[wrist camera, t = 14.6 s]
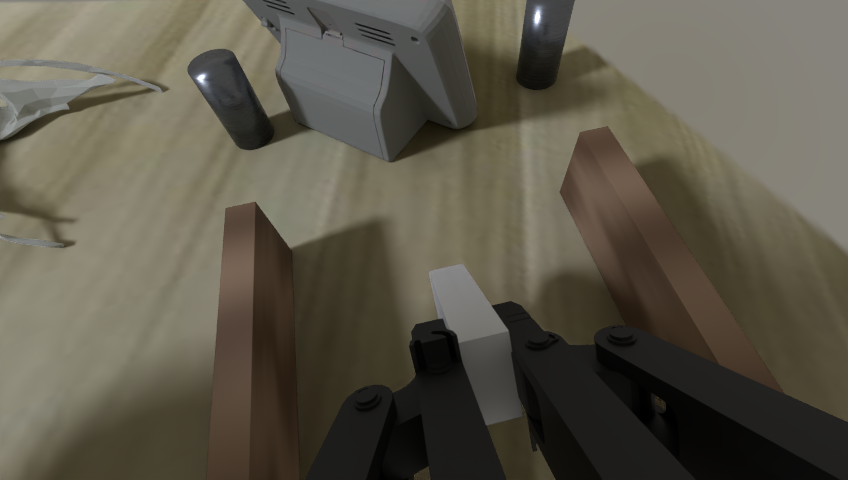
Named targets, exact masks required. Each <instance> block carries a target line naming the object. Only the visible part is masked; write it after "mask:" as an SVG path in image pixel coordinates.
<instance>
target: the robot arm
mask: <svg viewBox="0 0 848 480" xmlns="http://www.w3.org/2000/svg"><path fill="white" fill-rule="evenodd" d="M429 276H430V281H431V285H432V290H433V295H434V299H435V304H436V309H437V313H438V318H439V319H437V320H433V321H429V322H424V323H420V324H416V325H415V327H414V328H413V330H412V332H411V334H412V340H411V341H410V345H409V348H410V352H411V356H412V360H413V365H414V369H415V373H416V376H415V378H414V379H413V380H412V382H411V383H410V384H408V385H407V386H406V387H404V388H402V389H401V390H399V391H397V392H394V393H393V392H392V391H391V390H390V388H388V387H386V386H383V385H372V386H366V387H363V388H361V389H359V390H357V391H355V392H354V393H353V394H351V395H350V396H348V398H347V399H346V400H345V402H344V403H343V405H342V407H341V409H340V411H339V413H338V415H337V417H336V419H335V421H334V423H333V425H332V427H331V429H330V431H329V433H328V435H327V437H326V439H325V441H324V443H323V445H322V447H321V449H320V451H319V453H318V455H317V457H316V459H315V461H314V463H313V465H312V467H311V469H310V471H309V473H308V475H307V477H306V479H305V480H414V474H415V473H417V472H419V471H420V470H422V469H424V468H426V467H428V466H429V470H430V477H431V480H506V477H505V474H504V472H503V469H502V466H501V464H500V461H499V458H498V456H497V453H496V450H495V448H494V445H493V442H492V440H491V437H490V434H489V432H488V429H487V425H491V424H495V423H499V422H503V421H507V420H511V419H515V418H519V417H523V413H522V407H521V403H522V404H523V406H524V408H525V410H526V413H527V419H528V425H529V432H530V438H531V444H532V449H533V452H534V451H537V447H536V443H537V444H538V446H539V448H540V450H541V452H542V454H543V456H544V458H545V460H546V462H547V464H548V466H549V467H550V469H551V471H552V473H553V475H554V477H555V479H556V480H848V422H846V421H844V420H841V419H839V418H837V417H835V416H832V415H830V414H828V413H826V412H824V411H821V410H819V409H817V408H815V407H812V406H810V405H808V404H806V403H803V402H801V401H799V400H797V399H795V398H792V397H790V396H788V395H786V394H783V393H781V392H779V391H777V390H774V389H772V388H770V387H768V386H765V385H763V384H761V383H759V382H757V381H754V380H752V379H750V378H748V377H745V376H743V375H741V374H739V373H736V372H734V371H732V370H730V369H728V368H725V367H723V366H721V365H719V364H716V363H714V362H712V361H710V360H707V359H705V358H703V357H701V356H698V355H696V354H694V353H692V352H690V351H687V350H685V349H683V348H681V347H678V346H676V345H674V344H672V343H669V342H667V341H665V340H663V339H660V338H658V337H656V336H654V335H652V334H649V333H647V332H645V331H643V330H640V329H637V328H634V327H628V326H623V325H617V326H610V327H607V328H603V329H601V330H600V331H598V332H597V333H596V335H595V336H594V339H595V345H568V343H567V342H566V341H565V340H564V339H563V338H562V337H560V336H559V335H557V334H555V333H552V332H547V331H543V330H542V329H541V328H540V326H539V325H538V324H537V323H536V322H535V321H534V320H533V319H532V318H531V316H530V315H529V314H528V313H527V312H526V311H525V309H524V308H523V307H522V306H521V305H519V304H516V303H514V302H511V301H510V302H505V303H501V304H497V305H492V306H491V304H490V303H489V302H488V300H487V299H486V297H485V296H484V294H483V293H482V291H481V290H480V289H479V287H478V286H477V284H476V283H475V281H474V280H473V278H472V277H471V275H470V274H469V273H468V271H467V270H466V268H465V267H464V265H463V264H458V265H454V266H450V267H445V268H441V269H436V270H432V271H429ZM655 395H656V396H658V397H659V398H661V399H663V400H664V401H665V402H666V410H665V409H662V408H661V407H659V406H657V405H656V404H655Z"/></svg>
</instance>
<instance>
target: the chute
mask: <svg viewBox="0 0 848 480" xmlns="http://www.w3.org/2000/svg"><path fill="white" fill-rule="evenodd" d="M560 194H561V196H562V198H563V200H564V202H565V204H566V206H567V208H568V210H569V212H570V214H571V215H572V217H573V219H574V221H575V223H576V225H577V227H578V229H579V231H580V233H581V235H582V237H583V239H584V241H585V243H586V245H587V247H588V249H589V251H590V253H591V255H592V257H593V259H594V261H595V263H596V265H597V267H598V269H599V271H600V273H601V275H602V277H603V279H604V281H605V283H606V285H607V287H608V289H609V291H610V293H611V295H612V297H613V299H614V301H615V303H616V305H617V307H618V309H619V311H620V313H621V315H622V317H623V319H624V321H625V323H626V325H627V326H628V327H634V328H637V329H640V330H643V331H645V332H647V333H649V334H652V335H654V336H656V337H658V338H660V339H663V340H665V341H667V342H669V343H672V344H674V345H676V346H678V347H681V348H683V349H685V350H687V351H690V352H692V353H694V354H696V355H698V356H701V357H703V358H705V359H707V360H710V361H712V362H714V363H716V364H719V365H721V366H723V367H725V368H728V369H730V370H732V371H734V372H736V373H739V374H741V375H743V376H745V377H748V378H750V379H752V380H754V381H757V382H759V383H761V384H763V385H765V386H768V387H770V388H772V389H774V390H777V391H779V392H781V393H783V394H784V392H783V391H782V389H781V388H780V386H779V385H778V383H777V382H776V380H775V379H774V377H773V376H772V374H771V373H770V371H769V370H768V368H767V367H766V365H765V363H764V362H763V360H762V359H761V357H760V356H759V354H758V353H757V351H756V350H755V348H754V347H753V345H752V344H751V342H750V341H749V339H748V338H747V336H746V335H745V333H744V332H743V330H742V329H741V327H740V326H739V324H738V323H737V321H736V320H735V318H734V317H733V315H732V314H731V312H730V311H729V309H728V307H727V306H726V304H725V303H724V301H723V300H722V298H721V297H720V295H719V294H718V292H717V291H716V289H715V288H714V286H713V285H712V283H711V282H710V280H709V279H708V277H707V276H706V274H705V273H704V271H703V270H702V268H701V267H700V265H699V264H698V262H697V261H696V259H695V258H694V256H693V255H692V253H691V252H690V250H689V248H688V247H687V245H686V244H685V242H684V241H683V239H682V238H681V236H680V235H679V233H678V232H677V230H676V229H675V227H674V226H673V224H672V223H671V221H670V220H669V218H668V217H667V215H666V214H665V212H664V211H663V209H662V208H661V206H660V205H659V203H658V202H657V200H656V199H655V197H654V196H653V194H652V192H651V191H650V189H649V188H648V186H647V185H646V183H645V182H644V180H643V179H642V177H641V176H640V174H639V173H638V171H637V170H636V168H635V167H634V165H633V164H632V162H631V161H630V159H629V158H628V156H627V155H626V153H625V152H624V150H623V149H622V147H621V146H620V144H619V143H618V141H617V140H616V138H615V137H614V135H613V133H612V132H611V130H610V129H609V127H608V126H607V127H602V128H597V129H593V130H588V131H583V132H580V134H579V137H578V140H577V143H576V146H575V149H574V152H573V155H572V157H571V160H570V163H569V166H568V169H567V172H566V175H565V178H564V181H563V184H562V187H561V190H560ZM206 480H300V468H299V440H298V412H297V385H296V357H295V329H294V301H293V273H292V251H291V249H290V248H289V247H288V245H287V244H286V243H285V241H284V240H283V238H282V237H281V236H280V234H279V233H278V232H277V230H276V229H275V228H274V226H273V225H272V224H271V222H270V221H269V220H268V218H267V217H266V215H265V214H264V213H263V211H262V210H261V209H260V207H259V206H258V205H257V203H256V202H252V203H247V204H243V205H238V206H233V207H229V208H226V210H225V224H224V238H223V252H222V265H221V279H220V293H219V307H218V320H217V334H216V348H215V362H214V375H213V389H212V403H211V417H210V430H209V444H208V458H207V472H206Z"/></svg>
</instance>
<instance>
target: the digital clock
mask: <svg viewBox="0 0 848 480" xmlns="http://www.w3.org/2000/svg"><path fill="white" fill-rule="evenodd" d="M243 1H244V2H245V3H246V4H247V6H248V7H249V8H250V9H251V10H252V11H253V13H254V14H255V15H256V16H257V17H258V18H259V19H260V21H261V25H262V26H264V27H266V28H267V29H268V30H269V31H270V32H271V33H272V34H273V36H274V37H275V38H276V39H277V40H278V41H279V43H280V44H281V52H280V58H279V60H278V63H277V66H276V69H275V71H276V77H277V80H278V83H279V85H280V88H281V90H282V92H283V94H284V96H285V99H286V101H287V103H288V105H289V107H290V109H291V111H292V114H293V116H294V118H295V120H296V122H298V123H300V124H303V125H305V126H307V127H310V128H312V129H314V130H317V131H319V132H321V133H323V134H326V135H328V136H330V137H333V138H335V139H337V140H340V141H342V142H344V143H347V144H349V145H351V146H354V147H356V148H358V149H360V150H363V151H365V152H367V153H370V154H372V155H374V156H377V157H379V158H381V159H384V160H386V161H388V162H391V161H393V160H394V159H395V158H396V156H397V155H398V154H399V153H400V152H401V150H402V149H403V148H404V147H405V146H406V145H407V143H408V142H409V141H410V140H411V139H412V137H413V136H414V135H415V134H416V133H417V132H418V130H419V129H420V128H421V127H422V126H423V124H424V123H425V122H426V121H427V120H430V121H433V122H436V123H438V124H441V125H444V126H447V127H450V128H453V129H460V128H464V127H466V126H468V125H470V124H471V123H472V122H473V121H474V120H475V119H476V117H477V115H478V110H477V103H476V98H475V93H474V89H473V85H472V81H471V77H470V72H469V68H468V64H467V60H466V56H465V52H464V48H463V43H462V39H461V35H460V31H459V27H458V23H457V19H456V15H455V11H454V8H453V4H452V2H451V0H243Z"/></svg>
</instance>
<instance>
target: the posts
mask: <svg viewBox="0 0 848 480" xmlns="http://www.w3.org/2000/svg"><path fill="white" fill-rule="evenodd" d="M574 1H575V0H527V3H526V10H525V17H524V24H523V32H522V39H521V46H520V54H519V61H518V68H517V76H516V77H517V81H518V82H519V83H520V84H521V85H522V86H524V87H526V88H529V89H545V88H548V87H550V86H551V85H553V84H554V82H555V81H556V77H557V73H558V69H559V64H560V60H561V56H562V52H563V47H564V43H565V39H566V35H567V31H568V26H569V22H570V18H571V14H572V9H573V5H574ZM188 74H189V75H190V77H191V78H192V80H193V81H194V83H195V84H196V86H197V87H198V89H199V90H200V92H201V93H202V95H203V96H204V98H205V99H206V101H207V102H208V104H209V105H210V106H211V108H212V109H213V111H214V112H215V114H216V115H217V117H218V118H219V120H220V121H221V123H222V124H223V126H224V127H225V129H226V130H227V132H228V133H229V135H230V136H231V138H232V139H233V141H234V142H235V144H236V145H237V146H238V147H239V148H241V149H245V150H252V149H257V148H260V147H262V146H264V145H265V144H267V143H268V142H269V141H270V140H271V139H272V137H273V135H274V128H273V126H272V124H271V122H270V120H269V118H268V116H267V115H266V113H265V111H264V109H263V107H262V105H261V103H260V101H259V99H258V98H257V96H256V94H255V92H254V90H253V88H252V86H251V84H250V83H249V81H248V79H247V77H246V75H245V73H244V71H243V69H242V68H241V66H240V64H239V62H238V60H237V58H236V56H235V54H234V53H233V52H232V51H230V50H226V49H215V50H210V51H207V52H204V53H202V54H200V55H199V56H197V57H196V58H194V59H193V60H192V61H191V62H190V64H189V66H188Z"/></svg>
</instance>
